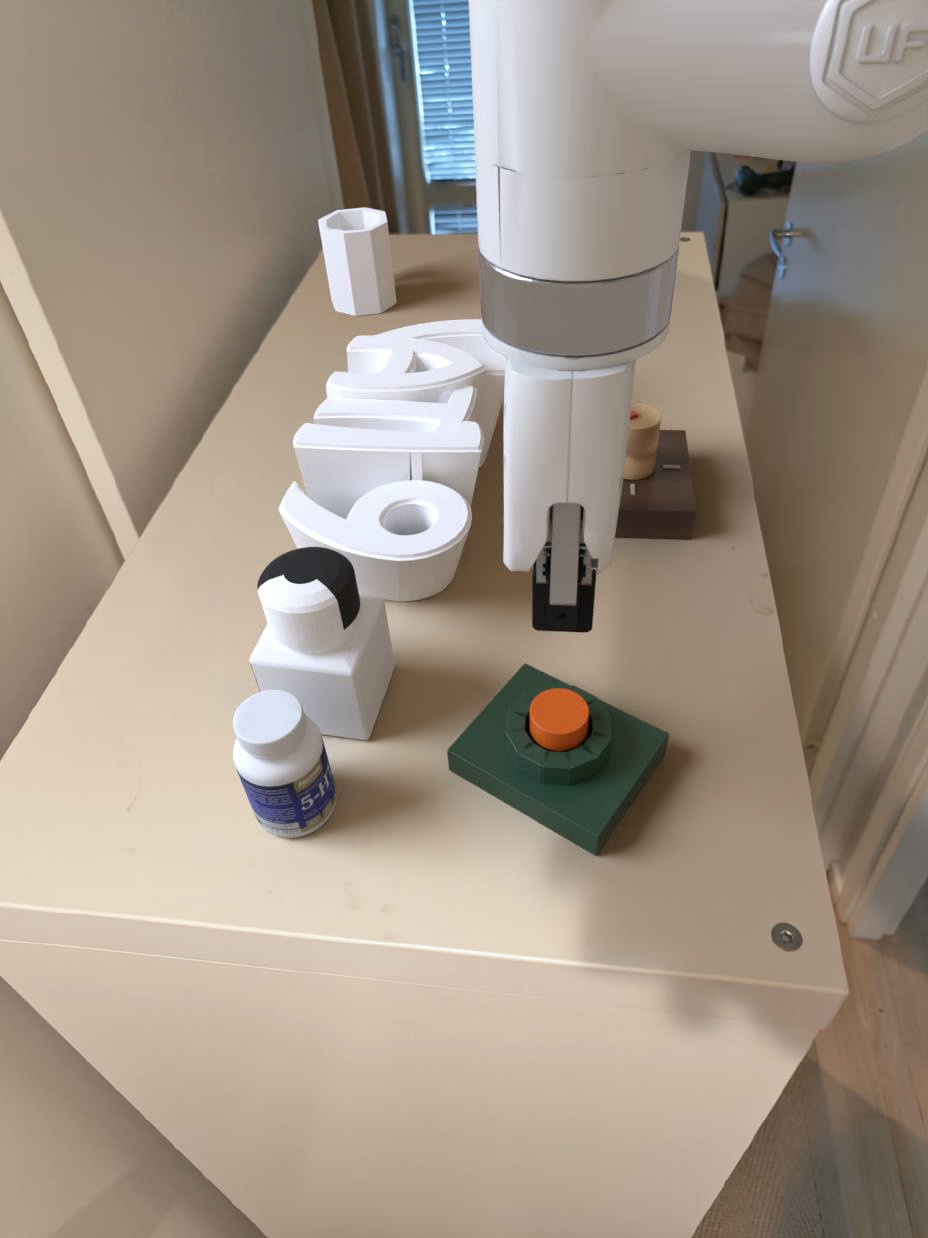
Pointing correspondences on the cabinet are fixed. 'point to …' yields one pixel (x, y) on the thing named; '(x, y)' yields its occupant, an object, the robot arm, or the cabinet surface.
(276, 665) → the block figurine
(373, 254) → the white octagonal cup
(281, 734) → the pill bottle
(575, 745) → the button
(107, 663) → the cabinet surface
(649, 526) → the hob panel
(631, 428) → the knob
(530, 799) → the green push button box
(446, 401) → the white lettered block
